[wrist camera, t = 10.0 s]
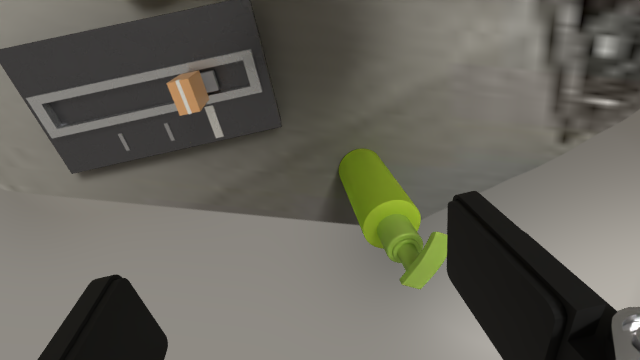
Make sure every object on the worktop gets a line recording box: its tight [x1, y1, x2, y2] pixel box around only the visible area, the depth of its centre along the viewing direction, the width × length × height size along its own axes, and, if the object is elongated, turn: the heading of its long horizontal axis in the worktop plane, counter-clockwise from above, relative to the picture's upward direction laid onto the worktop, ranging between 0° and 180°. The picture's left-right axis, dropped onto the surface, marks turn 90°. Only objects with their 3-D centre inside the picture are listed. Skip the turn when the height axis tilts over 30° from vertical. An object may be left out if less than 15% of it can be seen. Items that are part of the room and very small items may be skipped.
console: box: [0, 0, 282, 174], centre depth 33 cm, size 13×24×4 cm, turn 101°
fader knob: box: [166, 70, 220, 116], centre depth 29 cm, size 3×4×6 cm
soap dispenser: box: [339, 149, 447, 289], centre depth 33 cm, size 6×7×20 cm
